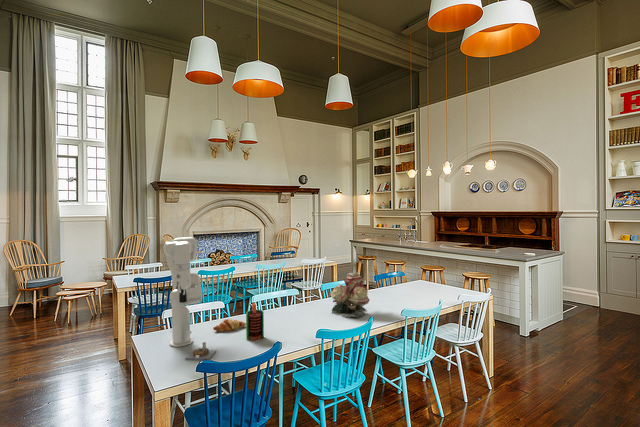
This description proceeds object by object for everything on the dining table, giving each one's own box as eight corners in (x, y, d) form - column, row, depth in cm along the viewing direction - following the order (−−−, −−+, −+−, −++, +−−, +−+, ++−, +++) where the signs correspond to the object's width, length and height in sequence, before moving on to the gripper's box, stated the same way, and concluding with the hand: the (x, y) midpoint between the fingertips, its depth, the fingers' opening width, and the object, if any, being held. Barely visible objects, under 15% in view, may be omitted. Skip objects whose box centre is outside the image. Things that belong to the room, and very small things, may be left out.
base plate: (193, 351, 190) (193, 348, 190) (215, 351, 189) (215, 348, 189) (185, 359, 180) (185, 355, 180) (209, 359, 179) (209, 355, 179)
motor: (249, 342, 203) (248, 307, 202) (244, 337, 210) (243, 304, 210) (265, 338, 208) (265, 305, 208) (259, 334, 216) (259, 301, 215)
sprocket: (211, 352, 186) (211, 340, 186) (201, 357, 179) (200, 345, 179) (200, 349, 190) (200, 338, 190) (189, 355, 183) (189, 343, 183)
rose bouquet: (326, 314, 253) (325, 273, 252) (349, 305, 275) (349, 267, 275) (355, 321, 236) (355, 277, 236) (378, 311, 259) (377, 271, 258)
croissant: (244, 330, 232) (243, 318, 236) (249, 327, 225) (247, 314, 228) (212, 335, 222) (211, 323, 225) (215, 332, 214) (214, 319, 217)
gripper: (183, 269, 174) (184, 306, 174) (195, 264, 189) (195, 298, 189) (168, 269, 174) (169, 306, 175) (181, 264, 189) (182, 298, 190)
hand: (183, 302), depth 182 cm, fingers closed
